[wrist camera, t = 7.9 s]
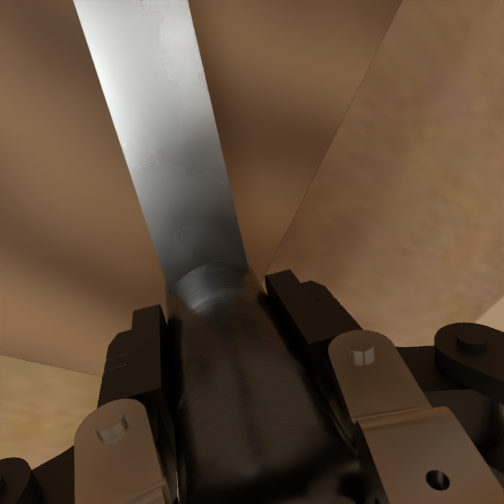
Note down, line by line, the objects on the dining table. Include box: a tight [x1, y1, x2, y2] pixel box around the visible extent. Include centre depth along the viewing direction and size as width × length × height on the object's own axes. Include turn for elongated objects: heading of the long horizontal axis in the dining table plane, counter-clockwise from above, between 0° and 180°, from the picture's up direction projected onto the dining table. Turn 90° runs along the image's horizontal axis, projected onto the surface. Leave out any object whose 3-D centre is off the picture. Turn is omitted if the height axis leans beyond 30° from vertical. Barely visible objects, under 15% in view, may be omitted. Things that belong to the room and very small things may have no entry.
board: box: [0, 0, 402, 377], centre depth 12 cm, size 26×18×6 cm
